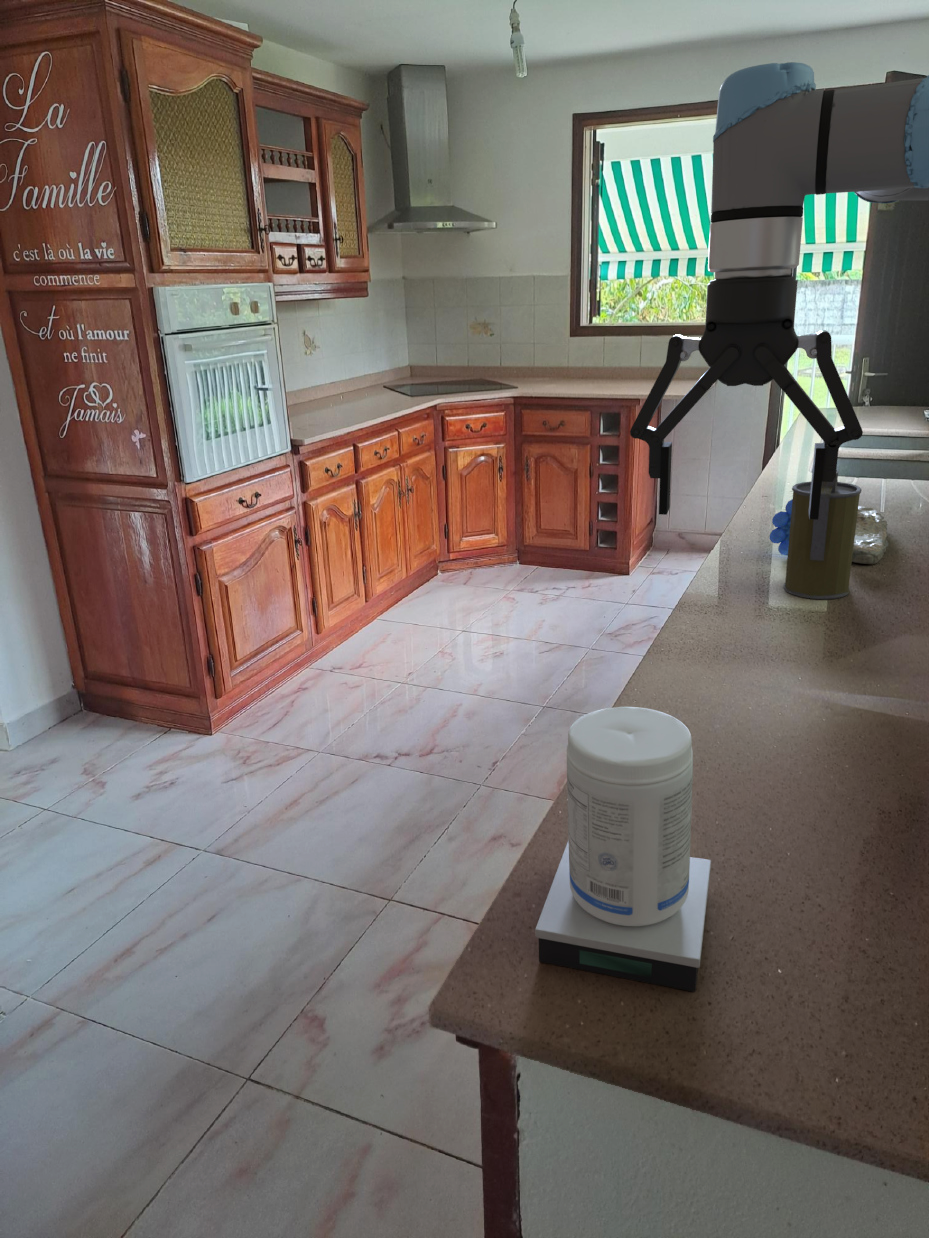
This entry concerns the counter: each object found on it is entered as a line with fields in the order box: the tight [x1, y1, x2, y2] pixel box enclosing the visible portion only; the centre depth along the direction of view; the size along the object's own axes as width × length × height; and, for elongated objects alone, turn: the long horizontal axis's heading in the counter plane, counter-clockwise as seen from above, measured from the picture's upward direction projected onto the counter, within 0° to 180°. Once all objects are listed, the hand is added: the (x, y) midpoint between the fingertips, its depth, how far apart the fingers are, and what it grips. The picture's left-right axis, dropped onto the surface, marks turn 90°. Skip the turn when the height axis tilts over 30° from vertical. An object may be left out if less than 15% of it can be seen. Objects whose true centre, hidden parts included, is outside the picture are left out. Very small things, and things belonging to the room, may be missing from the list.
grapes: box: [769, 498, 793, 556], centre depth 164 cm, size 12×7×12 cm, turn 71°
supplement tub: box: [566, 706, 694, 926], centre depth 69 cm, size 10×10×15 cm
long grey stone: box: [852, 505, 890, 566], centre depth 173 cm, size 35×5×10 cm
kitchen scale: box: [534, 839, 712, 993], centre depth 72 cm, size 12×12×3 cm
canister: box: [783, 469, 862, 601], centre depth 144 cm, size 11×10×20 cm
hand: (736, 514), depth 84 cm, fingers open, 13 cm apart
